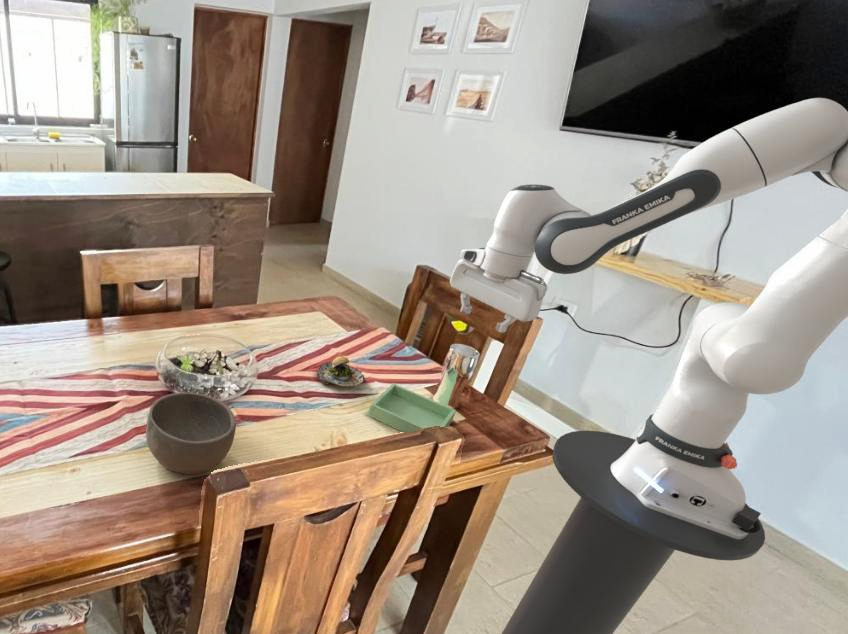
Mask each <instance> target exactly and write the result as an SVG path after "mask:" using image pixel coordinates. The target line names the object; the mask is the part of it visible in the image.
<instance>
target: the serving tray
mask: <svg viewBox="0 0 848 634" xmlns="http://www.w3.org/2000/svg"><path fill="white" fill-rule="evenodd" d="M456 413H457V409H456V408H455V409H452V408H450V407H447V406H445V405H443V404H440V403H438V402H436V401H434V400H433V399H432V398H429V397H426V396H424V395H422V394H420V393H417V392H415V391H412V390H410V389H407V388H405V387H403V386H401V385H399V384H396V383H394V382H393V383H391V384H390V385H389V386H388V387H387V388H386V389H385V390H384V391H383V392H382V393H381V394H380V395H379V396H378V397H376V399H375V400H374V401H373V402H372V403H371V404H370V407H369V410H368V413H367V416H369V417H370V418H373V419H374V420H376V421H379V422H382V423H383V424H385V425H387V426H389V427H391V428H393V429H396V430H398V431H400V432H402V433H404V434H406V433H410V432H414V431H418V430H421V429H423V428H427V427H433V426H440V427H448V428H449V426H450V425H451V424H452V422H453V421H454V419H455V415H456Z"/></svg>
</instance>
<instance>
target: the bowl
mask: <svg viewBox="0 0 848 634" xmlns="http://www.w3.org/2000/svg"><path fill="white" fill-rule="evenodd" d="M236 428H237V422H236V417H235V414H234V413H233V411H232V410H231V408H230V407H229V406H228V405H227V404H225V403H224V402H222V401H221V400H219V399H217V398H215V397H212V396H210V395H208V394H202V393H199V392H198V393H197V392H190V391H189V392H185V391H181V392H174V393H170V394H166V395H163V396H161V397H159V398H157V400H155V401H154V402H153V403H152V404H151V406H150V408H149V411H148V415H147V418H146V428H145V438H146V445H147V447H148V449H149V451H150V453H151V455H153V457H154V458H155V459H156V461H157V462H158V463H159V464H160V465H161V466H163V467H164V468H165V469H167V470H170V471H172V472H174V473H175V472H176V473H180V474H186V475H195V474H202V473H206V472H209V471H210V470H212V469H214V468H215V467H218V465H219V464H221V462H222V461H223V460H224V459H225V458H226V456H227V455H228V454H229V452H230V450H231V448H232V445H233V443H234V439H235V435H236Z"/></svg>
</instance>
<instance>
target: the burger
mask: <svg viewBox="0 0 848 634" xmlns="http://www.w3.org/2000/svg"><path fill="white" fill-rule="evenodd" d="M349 363H350V359H349V358H348V357H346V356H343V355H339V356H337V357H335V358H334V359H333V360H332V361H329V362H328V361H327V362H325V363H322V364H320V366H319V367H318V371H317V373H316V375H317V378H318V380H319V381H320V382H321V383H322V384H323V385H325V386H327V385H328V384H332V385H334V386H338V387H343V388H346V387H348V388H349V387H350V388H351V387H355V386H360V385H361V384H362V383H363V382H364V381H365V380H366V379H365V378H366V377H365V376H364V374H362V372H361V371H360V370H359V369H358V368H356V367H354V366H351V365H350V364H349ZM348 364H349V365H348Z"/></svg>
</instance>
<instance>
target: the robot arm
mask: <svg viewBox="0 0 848 634" xmlns="http://www.w3.org/2000/svg"><path fill="white" fill-rule="evenodd" d="M804 173H812V174H813V175H814V176H815V177H816V178H817V179H818V180H820V181H821V182H823V183H825V184H826V185H829V186H831V187H833V188H836V189H839V190H842V191H843V192H847V193H848V110H847V109H846V108H845V107H844V106H843V105H842V104H840V103H838V102H837V101H835V100H832V99H829V98H826V97H813V98H808V99H803V100H800V101H798V102H795V103H791V104H787V105H785V106H783V107H779V108H776V109H773V110H771V111H768V112H765V113H763V114H760V115H757V116H755V117H753V118H751V119H747V120H746V121H743V122H741V123H739V124H737V125H734V126H733V127H731V128H728V129H726V130H723V131H721V132H720V133H718V134H715V135H714V136H712V137H709V138H708V139H706V140H705V141H703V142H701V143H700V144H698V145H696V146H695V147H693V148H692V149H690V150H689V151H687V152H685V153H683V154H682V155H681V156H680V157H679V159H678V160H677V162H676V163H675V164H674V166H673V167H672V169H671V170H670V171H669V172H668V174H667V175H666V176H665V177H664V178H662V180H660V181H659V182H658V183H656V184H655V185H653V186H652V187H650V188H649V189H647V190H644V191H643V192H641V193H639V194H637V195H635V196H632V197H630V198H628V199H626V200H624V201H621V202H620V203H618V204H616V205H613V206H611V207H609V208H607V209H605V210H603V211H601V212H599V213H595V214H590V213H589V212H587V211H585V210H583V209H581V208H579V207H578V206H575V205H573V204H572V203H571V202H569V201H567V200H566V199H565V198H564V197H562V196H561V194H559V193H558V192H557V191H556V189H555V187H552V186H550V185H546V184H523V185H519V186H516V187H514V188H512V189H510V191H509V192H508V193H507V194H506V196H505V197H504V199H503V200H502V203H501V205H500V207H499V210H498V212H497V214H496V217H495V220H494V223H493V230H492V234H491V236H490V238H489V239H488V241H487V243H486V244H485V247H477V248H476V247H475V248H466V249H465V248H464V249H462V250H461V252H460V259H459V260H458V261H457V262H456V264H455V266H454V268H453V271H452V273H451V276H450V279H449V284H450V287H451V288H452V289H455V290H457V291H458V292H460V297H459V298H460V302H461V307H460V312H461V313H462V314H465V315H470V313H471V312H472V309H473V306H472V305H471V301H470V298H473V299H475V300H477V301H479V302H481V303H483V304H485V305H488V307H489V306H490V307H491V308H493V309H496V310H498V311H499V312H502V313H504V314H505V315H504V319H505V320H503V321H500V322H497V323H496V325H495V327H494V330H495V331H497V332H498V333H500V334H503V333H504V334H505V333H506V332H507V330H508V328H509V326H510V325H512V324H513V323H515V322H516V321H520V322H523V323H525V322H532V321H533V320H535V319H537V318H538V316H539V314H540V311H541V308H542V305H543V301H544V298H545V296H546V294H547V291H548V285H547V283H546V282H545V279H544V278H542V277H541V276H538V275H535V274H532V273H531V272H528V270H529V265H530V264H531V262H532V258H533V256H534V255H535V257H536V260H537V261H538V263H539V264H540V265H541V266H542V267H543V268H544V269H546V270H547V271H550V272H553V273H555V274H561V275H572V274H577V273H580V272H583V271H585V270H587V269H589V268H590V267H592V266H593V265H594V264H596V263H597V262H598V261H599V260H601V258H603V256H604V255H606V254H607V253H608V252H610V251H611V250H612V249H614V248H615V247H617V246H619V245H621V244H623V243H625V242H628V241H630V240H632V239H634V238H636V237H639V236H641V235H643V234H646V233H648V232H650V231H652V230H655V229H658V228H659V227H662V226H664V225H666V224H669V223H670V222H672V221H676V220H677V219H680V218H682V217H684V216H686V215H689V214H692V213H695V212H698V211H701V210H704V209H706V208H710V207H713V206H716V205H718V204H722V203H725V202H728V201H731V200H735V199H737V198H740V197H743V196H746V195H748V194H751V193H753V192H754V193H755V192H756V191H758V190H761V189H763V188H766V187H768V186H771V185H773V184H775V183H776V184H777V183H778V182H781V181H783V180H785V179H787V178H789V177H793V176H797V175H800V174H804ZM847 318H848V207H847V208H846V210H845V211H844V212H843V214H842V215H841V216H840V217H839V219H838V220H837V221H835V222H834V223H832V224H831V225H830V226H828V227H827V228H826V229H825V230H824V231H822V232H821V233H819V234H818V236H816V237H815V238H814V239H813V240H811V241H810V242H808V243H807V244H806V245H805V246H804V247H803V248H802V249H800V250H799V251H798V252H797V253H796V254H794V255H793V256H791V258H789V259H788V260H787V261H786V262H784V263H783V264H782V265H780V267H779V268H777V269H776V270H774V271H773V273H772V274H771V275H770V276H769V278H768V280H767V283H766V285H765V286H764V288H763V290H762V291H761V293H760V294H759V295H758V296H757V298H755V300H754V301H753V302H752V304H750V305H747V304H743V303H740V302H735V301H734V302H732V301H731V302H730V301H725V302H719V303H715V304H711V305H709V306H707V307H705V308H703V310H701V311H700V312H699V313H698V314H697V315H696V316H695V318H694V321H693V324H692V327H691V332H690V335H689V338H688V341H686V345H685V347H684V350H683V352H682V355H681V358H680V360H679V363H678V366H677V369H676V371H675V374H674V377H673V379H672V382H671V384H670V386H669V387H668V389H667V391H666V393H665V394H664V396H663V398H662V400H661V401H660V403H659V404H658V406H657V408H656V409H655V411H654V413H652V414H650V415H649V416H647V417H648V418H647V419H646V420H645V421H644V422H643V424H642V426H641V427H640V428H639V431H638V432H637V434H636V439H635V440H636V441H635V442H634V443H633V444H632V446H631V447H630V448H629V449H628V450H627V451H626V452H625V453H624V454H623V455H622V456H621V457H620V458H619V459H617V460H616V461H615V462H613V463H612V464H611V472H612V474H613V476H614V477H615V478H616V479H617V481H618V482H619V483H620V484H622V485H623V486H624V487H625V488H626V489H628V490H629V491H630V492H632V493H633V494H634V495H635V496H636V497H637V498H638V499H639V500H640V501H641V502H642V503H643V504H644V505H645V506H646V507H648V508H650V509H652V510H655V511H658V512H661V513H664V514H667V515H669V516H672V517H675V518H678V519H681V520H684V521H686V522H689V523H692V524H695V525H698V526H701V527H703V528H706V529H709V530H712V531H715V532H718V533H721V534H723V535H726V536H729V537H732V538H735V539H743V538H745V537H746V536H747V535H748V533H755V532H758V531H759V530H760V525H759V522H758V521H756V520H757V519H759V517H760V516H761V514H762V513H761V512H759V511H758V510H756V509H754V508H752V507H750V506H749V505H748V506H749V507H748V506H746V505H745V503H746V502H747V501H746V499H747V497H746V492H745V488H744V487H743V486H744V485H742V483H741V481H740V480H739V479H738V478H737V477H736V475H735V474H734V473H733V472H732V470H733V469H736V468H737V467H738V463H737V462H738V461H737V459H736V457H734V456H733V454H734V453H733V450H732V449H731V448H730V445H729V443H728V442H726V441H727V439H728V438H729V437H730V435H731V434H732V432H733V431H734V430H735V428H736V427H737V425H738V424H739V423H740V421H741V420H742V418H743V417H744V416H745V413H746V411H747V407H748V406H747V405H748V398H749V394H751V395H771V394H772V395H773V394H778V393H780V392H783V391H786V390H788V389H790V388H792V387H794V386H795V385H796V384H797V383H798V382H799V381H800V380H801V379H802V377H803V376H804V373H805V371H806V366H807V364H808V362H809V360H810V359H811V357H812V356H813V354H814V353H815V352H816V351H817V350H818V349H819V348H820V346H821V345H822V344H823V343H824V342H825V341H826V339H828V338H829V336H830V335H831V334H832V333H833V332H834V330H835V329H837V328H838V327H839V325H840V324H841V323H842V322H843V321H845V319H847ZM752 525H754V527H753V528H751V527H752Z"/></svg>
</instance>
